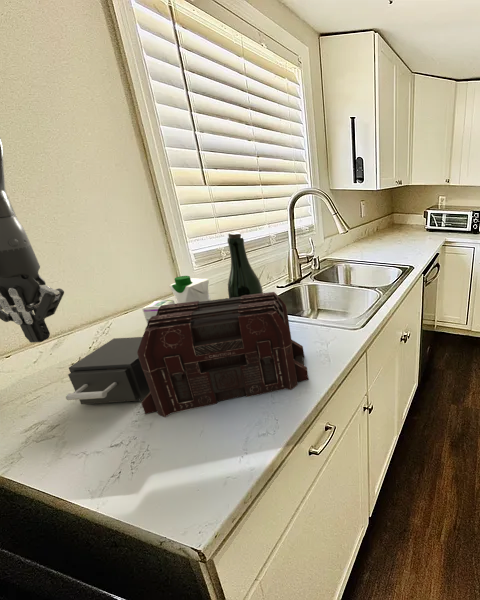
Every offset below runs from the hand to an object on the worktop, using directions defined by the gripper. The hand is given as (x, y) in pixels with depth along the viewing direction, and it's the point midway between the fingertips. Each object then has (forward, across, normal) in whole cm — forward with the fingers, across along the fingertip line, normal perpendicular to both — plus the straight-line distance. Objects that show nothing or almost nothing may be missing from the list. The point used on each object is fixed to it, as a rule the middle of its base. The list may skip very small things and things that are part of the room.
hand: (40, 340), depth 59 cm
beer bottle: (+21, -21, -42) cm, 52 cm away
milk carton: (+21, -4, -44) cm, 49 cm away
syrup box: (+21, +1, -35) cm, 41 cm away
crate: (+21, -25, -15) cm, 36 cm away
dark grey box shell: (+21, 0, -16) cm, 26 cm away
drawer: (+20, 0, -12) cm, 23 cm away
